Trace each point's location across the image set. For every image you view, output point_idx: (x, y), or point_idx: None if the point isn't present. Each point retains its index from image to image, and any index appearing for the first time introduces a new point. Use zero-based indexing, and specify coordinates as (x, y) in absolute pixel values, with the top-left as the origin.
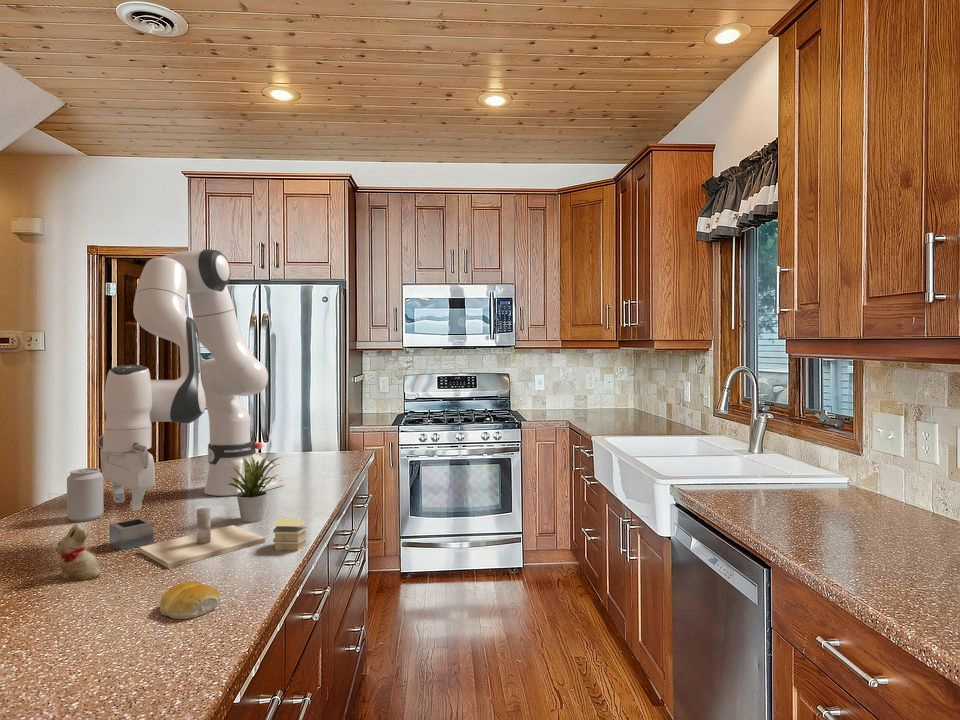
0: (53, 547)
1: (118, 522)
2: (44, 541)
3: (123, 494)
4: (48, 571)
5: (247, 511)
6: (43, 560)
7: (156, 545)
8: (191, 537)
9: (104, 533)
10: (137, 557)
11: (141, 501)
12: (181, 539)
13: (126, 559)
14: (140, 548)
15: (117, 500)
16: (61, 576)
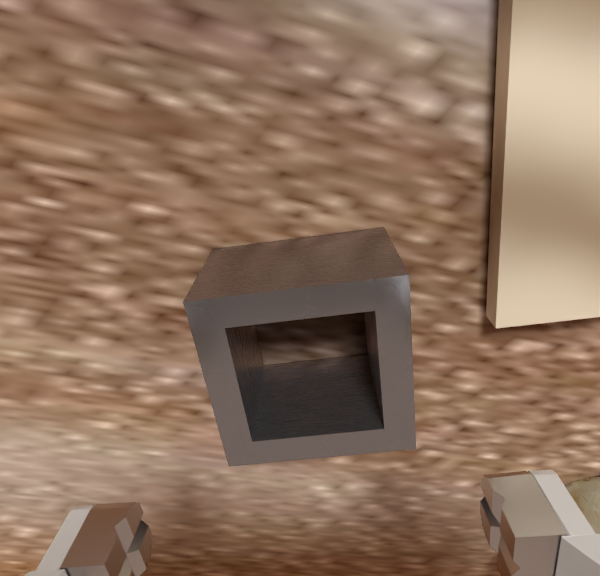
0: (149, 528)
1: (235, 429)
2: (40, 538)
3: (110, 571)
4: (441, 562)
5: None
6: (300, 561)
7: (542, 256)
8: (575, 25)
9: (30, 371)
10: (556, 337)
11: (589, 529)
12: (555, 101)
13: (541, 376)
14: (508, 325)
15: (144, 557)
16: None
